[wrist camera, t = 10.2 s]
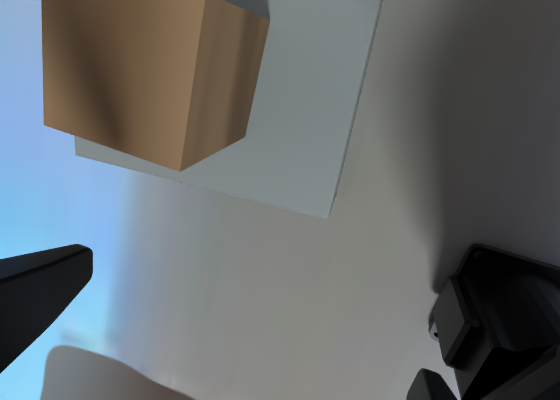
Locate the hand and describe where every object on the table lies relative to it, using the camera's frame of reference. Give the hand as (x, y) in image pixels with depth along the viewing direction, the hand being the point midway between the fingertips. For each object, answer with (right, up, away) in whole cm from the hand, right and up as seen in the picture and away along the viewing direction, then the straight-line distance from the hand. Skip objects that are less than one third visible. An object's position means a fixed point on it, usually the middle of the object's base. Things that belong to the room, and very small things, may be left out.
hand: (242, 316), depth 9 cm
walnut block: (-2, +9, +7) cm, 11 cm away
